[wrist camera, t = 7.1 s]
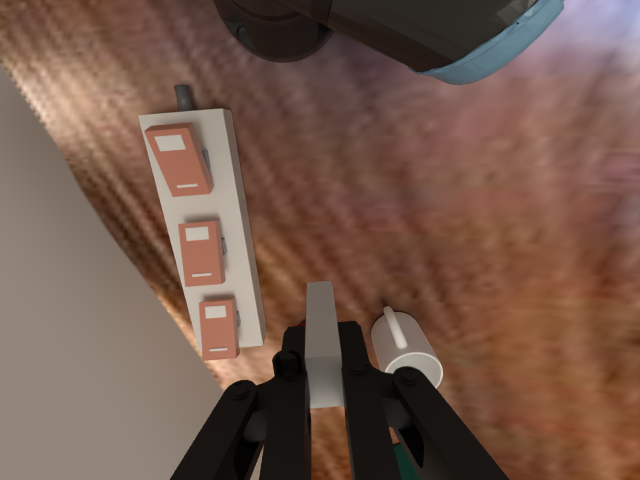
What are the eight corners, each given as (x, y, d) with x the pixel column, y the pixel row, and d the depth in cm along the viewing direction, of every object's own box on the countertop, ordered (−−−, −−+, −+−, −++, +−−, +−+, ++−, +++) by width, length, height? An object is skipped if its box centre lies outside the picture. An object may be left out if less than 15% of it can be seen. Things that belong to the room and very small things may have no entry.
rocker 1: (150, 125, 33) (143, 132, 31) (192, 122, 33) (187, 128, 31) (177, 189, 38) (172, 197, 36) (213, 186, 38) (209, 194, 36)
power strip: (147, 91, 38) (123, 85, 33) (226, 85, 38) (214, 78, 33) (206, 334, 50) (195, 356, 46) (266, 329, 50) (261, 350, 45)
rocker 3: (203, 300, 43) (198, 303, 41) (235, 297, 43) (231, 300, 41) (207, 355, 43) (202, 361, 41) (239, 353, 43) (235, 358, 41)
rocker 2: (184, 223, 39) (177, 223, 37) (219, 220, 39) (214, 220, 37) (191, 283, 40) (184, 287, 38) (225, 281, 40) (221, 284, 38)
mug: (357, 300, 49) (368, 341, 39) (405, 284, 48) (429, 322, 39) (377, 356, 53) (392, 406, 43) (423, 342, 52) (448, 390, 42)
